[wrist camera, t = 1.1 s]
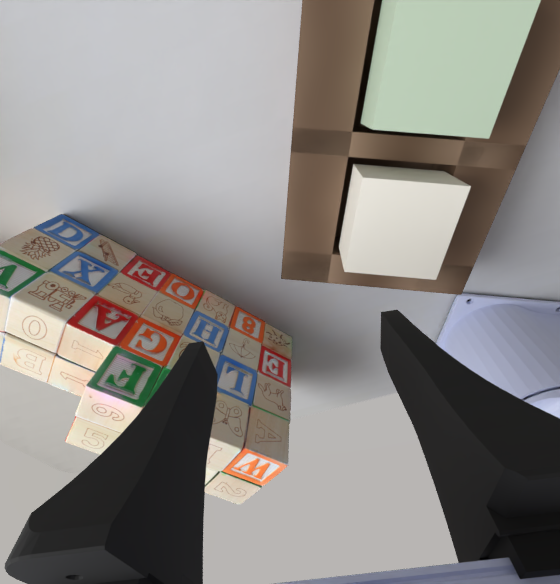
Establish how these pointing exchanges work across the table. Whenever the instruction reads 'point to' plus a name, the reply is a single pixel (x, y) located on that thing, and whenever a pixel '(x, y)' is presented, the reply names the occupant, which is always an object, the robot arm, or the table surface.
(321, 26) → the key console
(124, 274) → the stack of blocks
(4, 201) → the table surface
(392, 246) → the cream key
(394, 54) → the sage green key
